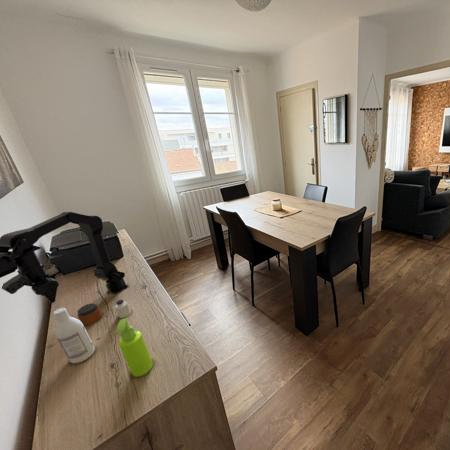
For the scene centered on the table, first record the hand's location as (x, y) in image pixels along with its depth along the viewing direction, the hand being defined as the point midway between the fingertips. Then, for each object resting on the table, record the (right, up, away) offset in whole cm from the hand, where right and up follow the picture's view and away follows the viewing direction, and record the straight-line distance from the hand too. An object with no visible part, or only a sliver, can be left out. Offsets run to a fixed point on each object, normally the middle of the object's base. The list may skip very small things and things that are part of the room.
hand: (48, 299), depth 94 cm
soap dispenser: (+47, -18, -16) cm, 53 cm away
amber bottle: (+10, -11, +8) cm, 17 cm away
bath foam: (+22, -17, -9) cm, 30 cm away
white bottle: (+23, -10, +10) cm, 27 cm away
